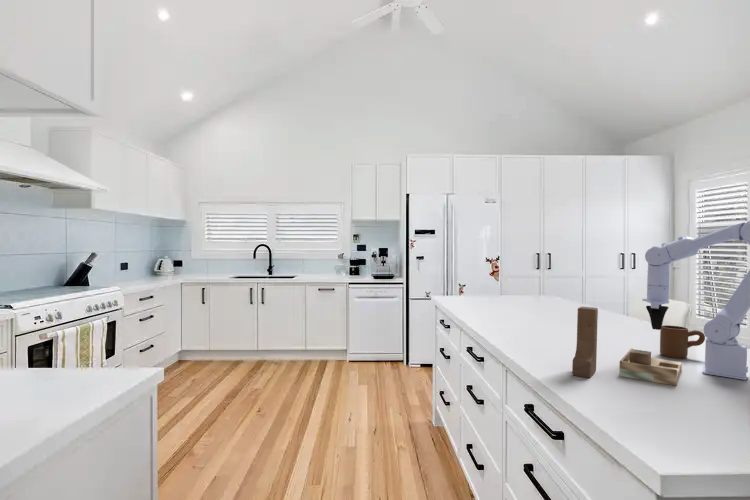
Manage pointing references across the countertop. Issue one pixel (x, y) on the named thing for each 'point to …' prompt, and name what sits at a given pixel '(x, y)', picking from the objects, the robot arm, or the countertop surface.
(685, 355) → the mug
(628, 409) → the countertop surface
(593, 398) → the countertop surface
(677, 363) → the platform
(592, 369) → the wooden block
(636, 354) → the walnut block
